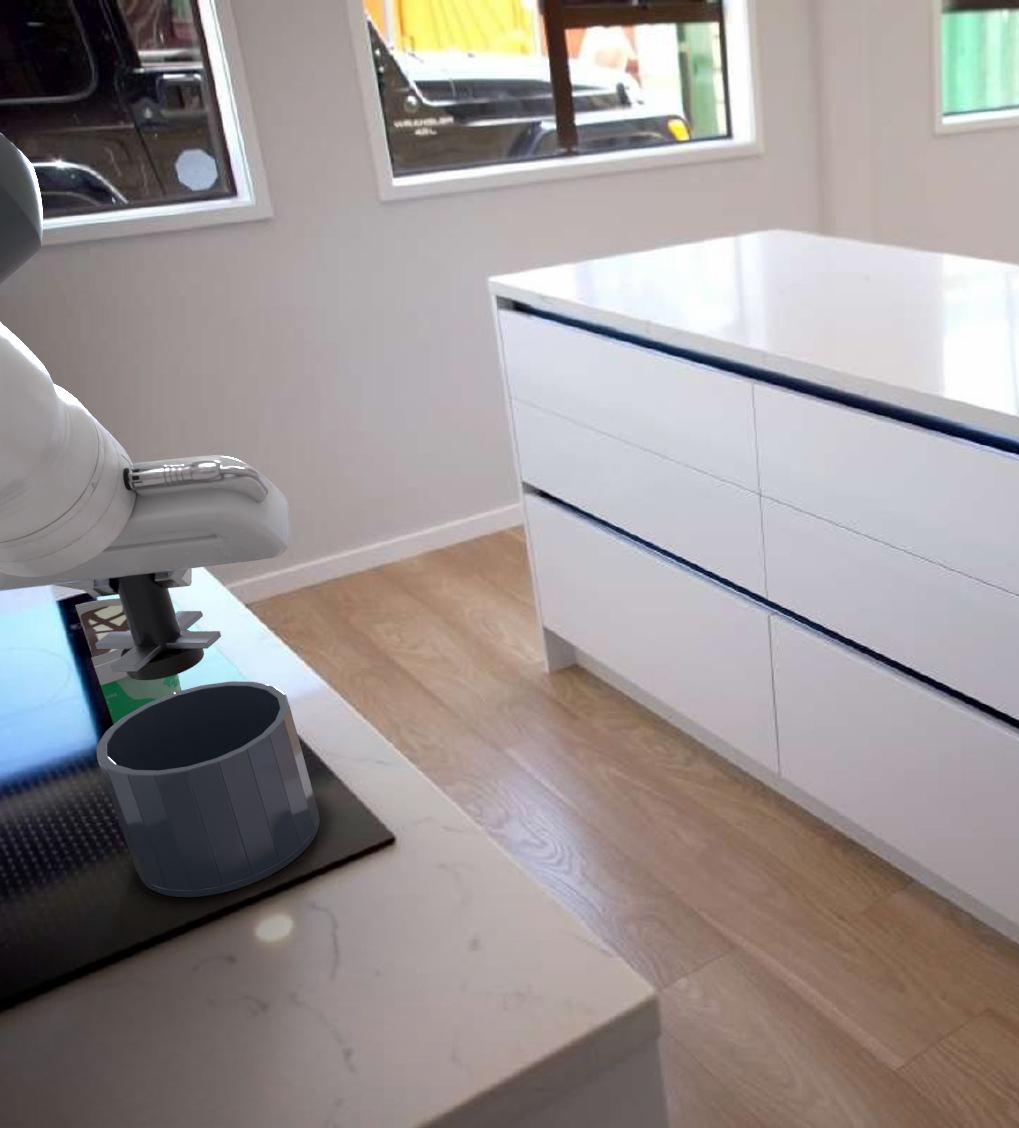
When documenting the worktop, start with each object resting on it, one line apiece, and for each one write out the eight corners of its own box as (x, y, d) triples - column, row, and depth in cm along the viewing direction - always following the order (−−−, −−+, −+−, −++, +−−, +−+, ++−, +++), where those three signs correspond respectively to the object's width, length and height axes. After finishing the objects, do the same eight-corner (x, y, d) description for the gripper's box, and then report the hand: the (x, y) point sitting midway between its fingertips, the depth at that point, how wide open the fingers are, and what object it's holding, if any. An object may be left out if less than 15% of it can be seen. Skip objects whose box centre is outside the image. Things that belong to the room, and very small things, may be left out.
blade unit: (74, 692, 76) (21, 538, 72) (144, 635, 83) (99, 491, 79) (188, 692, 76) (141, 537, 72) (250, 635, 82) (210, 490, 78)
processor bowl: (99, 873, 86) (56, 754, 82) (239, 781, 96) (205, 669, 92) (222, 915, 82) (182, 790, 78) (355, 813, 91) (326, 698, 87)
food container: (218, 748, 100) (183, 635, 96) (131, 776, 97) (92, 661, 93) (190, 686, 109) (158, 581, 105) (110, 710, 106) (74, 602, 102)
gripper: (247, 408, 68) (321, 512, 80) (-182, 451, 64) (-33, 552, 77) (248, 517, 65) (324, 606, 78) (-195, 568, 62) (-40, 652, 75)
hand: (143, 580), depth 78 cm, fingers closed on blade unit, 2 cm apart
